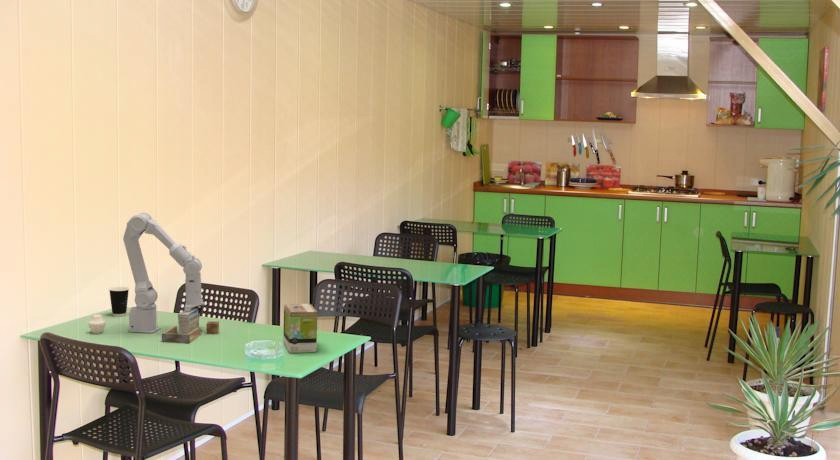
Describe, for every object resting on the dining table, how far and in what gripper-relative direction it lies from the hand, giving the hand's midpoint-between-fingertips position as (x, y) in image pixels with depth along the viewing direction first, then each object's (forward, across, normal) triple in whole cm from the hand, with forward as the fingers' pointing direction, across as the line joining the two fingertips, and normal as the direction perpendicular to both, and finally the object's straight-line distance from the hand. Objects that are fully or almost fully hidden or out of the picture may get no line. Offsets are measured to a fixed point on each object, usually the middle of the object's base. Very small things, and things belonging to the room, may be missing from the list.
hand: (194, 326), depth 342 cm
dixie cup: (+1, +21, +39) cm, 44 cm away
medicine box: (+2, -5, 0) cm, 5 cm away
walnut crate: (+2, -1, -7) cm, 8 cm away
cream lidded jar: (+1, -9, +34) cm, 35 cm away
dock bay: (+2, -12, +1) cm, 12 cm away
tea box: (+3, -16, -44) cm, 47 cm away
